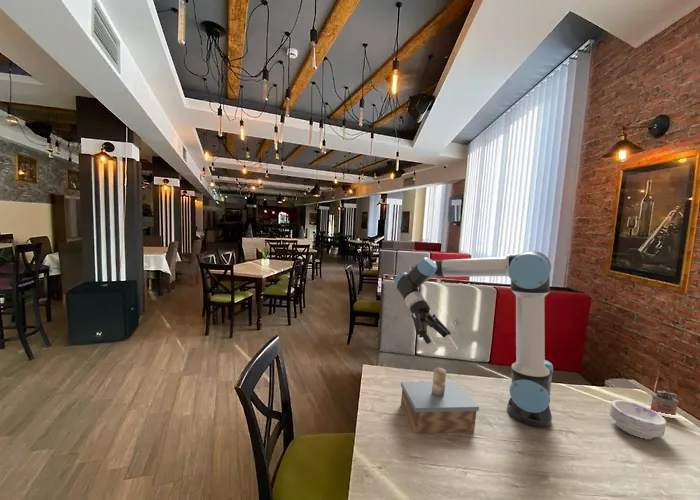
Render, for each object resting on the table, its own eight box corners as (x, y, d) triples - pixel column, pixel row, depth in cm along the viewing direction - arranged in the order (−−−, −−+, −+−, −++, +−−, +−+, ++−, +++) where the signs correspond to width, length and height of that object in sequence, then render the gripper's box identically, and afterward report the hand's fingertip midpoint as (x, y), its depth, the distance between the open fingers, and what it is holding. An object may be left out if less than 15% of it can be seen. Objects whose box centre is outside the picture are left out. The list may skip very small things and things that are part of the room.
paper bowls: (660, 431, 118) (664, 411, 117) (665, 452, 107) (669, 430, 106) (608, 412, 128) (611, 394, 127) (607, 430, 116) (610, 410, 116)
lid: (456, 384, 126) (458, 360, 125) (478, 410, 110) (481, 382, 108) (400, 385, 123) (403, 359, 122) (415, 412, 106) (418, 382, 105)
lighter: (651, 414, 129) (655, 391, 128) (647, 409, 132) (651, 387, 131) (677, 420, 126) (681, 396, 125) (672, 415, 129) (676, 392, 128)
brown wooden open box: (453, 404, 127) (455, 385, 126) (474, 431, 111) (476, 410, 110) (400, 405, 123) (402, 386, 123) (414, 433, 108) (416, 411, 107)
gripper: (428, 313, 138) (455, 356, 125) (391, 307, 122) (418, 357, 109) (440, 302, 135) (469, 346, 122) (404, 295, 119) (433, 344, 106)
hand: (445, 351), depth 115 cm, fingers open, 13 cm apart
